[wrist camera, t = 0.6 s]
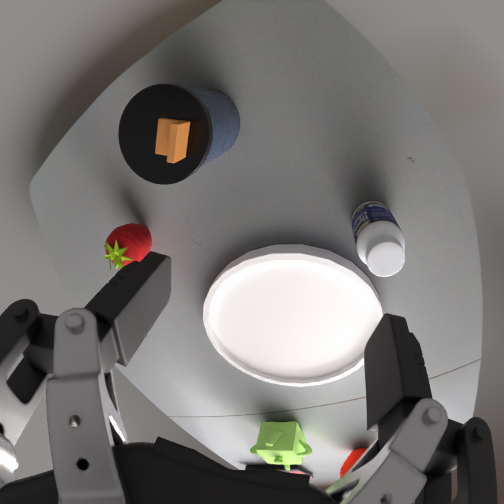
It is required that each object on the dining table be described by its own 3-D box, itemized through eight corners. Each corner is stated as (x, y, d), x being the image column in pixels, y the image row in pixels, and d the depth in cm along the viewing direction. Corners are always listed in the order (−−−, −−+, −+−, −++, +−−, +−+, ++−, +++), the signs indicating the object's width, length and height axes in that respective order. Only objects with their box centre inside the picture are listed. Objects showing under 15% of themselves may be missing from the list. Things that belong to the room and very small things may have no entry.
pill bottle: (355, 196, 33) (367, 229, 25) (396, 204, 32) (419, 239, 24) (346, 236, 36) (353, 278, 27) (385, 243, 35) (402, 286, 26)
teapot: (293, 442, 66) (288, 474, 57) (249, 428, 66) (240, 462, 57) (323, 423, 58) (320, 461, 49) (274, 408, 58) (265, 448, 49)
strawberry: (174, 239, 41) (139, 276, 33) (138, 252, 44) (103, 287, 36) (155, 203, 39) (114, 234, 31) (121, 220, 42) (81, 251, 33)
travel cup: (248, 92, 30) (217, 88, 20) (234, 167, 34) (201, 194, 25) (175, 84, 30) (122, 82, 21) (166, 153, 35) (116, 176, 26)
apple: (348, 459, 69) (345, 495, 57) (335, 447, 65) (331, 488, 54) (384, 451, 64) (384, 489, 52) (375, 439, 60) (375, 481, 49)
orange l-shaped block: (191, 121, 22) (178, 124, 20) (186, 157, 23) (174, 163, 21) (161, 117, 22) (147, 120, 20) (158, 152, 24) (143, 158, 22)
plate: (414, 282, 36) (419, 292, 34) (333, 389, 51) (332, 399, 49) (227, 215, 38) (222, 222, 36) (197, 347, 52) (192, 356, 50)
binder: (244, 470, 82) (297, 469, 73) (245, 465, 84) (298, 463, 75) (266, 480, 88) (315, 479, 79) (267, 475, 90) (315, 473, 81)
